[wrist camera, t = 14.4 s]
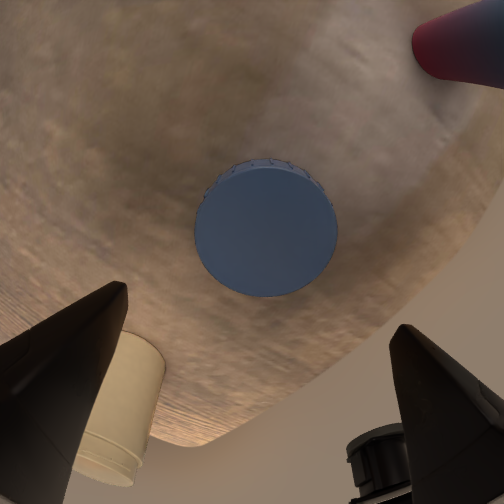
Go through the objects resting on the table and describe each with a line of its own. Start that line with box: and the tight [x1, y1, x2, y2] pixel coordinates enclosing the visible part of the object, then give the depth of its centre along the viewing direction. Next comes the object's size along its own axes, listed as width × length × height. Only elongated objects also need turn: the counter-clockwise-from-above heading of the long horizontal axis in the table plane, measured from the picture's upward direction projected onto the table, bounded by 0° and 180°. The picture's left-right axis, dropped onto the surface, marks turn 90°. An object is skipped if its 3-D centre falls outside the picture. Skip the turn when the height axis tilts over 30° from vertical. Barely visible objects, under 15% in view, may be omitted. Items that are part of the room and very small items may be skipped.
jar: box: [72, 331, 165, 487], centre depth 17 cm, size 6×6×10 cm
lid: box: [194, 158, 337, 297], centre depth 15 cm, size 7×7×2 cm
